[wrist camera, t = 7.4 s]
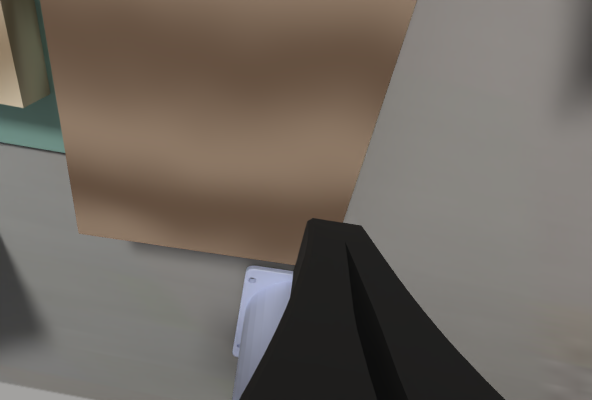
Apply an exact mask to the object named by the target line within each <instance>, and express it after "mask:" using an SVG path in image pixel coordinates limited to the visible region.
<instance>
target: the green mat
mask: <svg viewBox="0 0 592 400" xmlns="http://www.w3.org/2000/svg"><path fill="white" fill-rule="evenodd" d="M34 1H35V7H36V13H37V19H38V24H39V30H40V36H41V42H42V48H43V54H44V60H45V65H46V71H47V77H48V83H49V89H50V95H48V96H46V97H44V98H42V99H40V100H38V101H36V102H34V103H32V104H30V105H28V106H26V107H25V108H21V107H15V106H10V105H4V104H0V142H3V143H9V144H15V145H21V146H27V147H33V148H39V149H45V150H51V151H57V152H63V153H65V148H64V142H63V136H62V130H61V124H60V118H59V112H58V106H57V100H56V94H55V88H54V82H53V76H52V70H51V64H50V58H49V52H48V46H47V40H46V34H45V28H44V22H43V16H42V10H41V4H40V0H34Z"/></svg>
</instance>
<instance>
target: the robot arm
mask: <svg viewBox="0 0 592 400" xmlns="http://www.w3.org/2000/svg"><path fill="white" fill-rule="evenodd" d="M251 278H255V279H251ZM232 353H233V355H234V356H236V357H238V363H237V370H236V376H235V383H234V390H233V397H232V400H505V399H504V398H503V397H502V396H501V395H500V394H499V393H498V392H497V391H496V390H495V389H494V388H493V387H492V386H491V385H490V384H489V383H488V382H487V381H486V380H485V379H484V378H483V377H482V376H481V375H480V374H479V373H478V372H477V371H476V370H475V369H474V367H473V366H472V365H471V364H470V363H469V362H468V361H467V360H466V359H465V358H464V357H463V356H462V355H461V354H460V353H459V352H458V351H457V349H456V348H455V347H454V346H453V345H452V344H451V343H450V342H449V340H448V339H447V338H446V337H445V336H444V335H443V334H442V332H441V331H440V330H439V329H438V328H437V326H436V325H435V324H434V323H433V322H432V320H431V319H430V318H429V317H428V316H427V314H426V313H425V312H424V311H423V310H422V308H421V307H420V306H419V304H418V303H417V302H416V301H415V299H414V298H413V297H412V296H411V294H410V293H409V292H408V290H407V289H406V288H405V286H404V285H403V284H402V282H401V281H400V280H399V278H398V277H397V276H396V274H395V273H394V271H393V270H392V269H391V267H390V266H389V264H388V263H387V262H386V260H385V259H384V257H383V256H382V254H381V253H380V252H379V250H378V249H377V247H376V246H375V244H374V243H373V242H372V240H371V239H370V237H369V236H368V234H367V233H366V231H365V230H364V229H363V227H362V226H360V225H354V224H348V223H341V222H335V221H329V220H323V219H316V218H312V219H310V220H308V221H307V224H306V227H305V231H304V235H303V238H302V242H301V246H300V249H299V253H298V257H297V261H296V264H295V268H294V271H289V270H282V269H275V268H268V267H261V266H249V267H248V268H247V269H246V274H245V280H244V286H243V292H242V298H241V304H240V310H239V316H238V322H237V328H236V334H235V340H234V346H233V352H232Z"/></svg>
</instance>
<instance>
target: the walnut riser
mask: <svg viewBox="0 0 592 400" xmlns="http://www.w3.org/2000/svg"><path fill="white" fill-rule="evenodd" d="M416 2H417V0H40V4H41V10H42V16H43V22H44V28H45V34H46V40H47V46H48V52H49V58H50V64H51V70H52V76H53V82H54V88H55V94H56V100H57V106H58V112H59V118H60V124H61V130H62V136H63V142H64V148H65V154H66V160H67V166H68V172H69V178H70V184H71V190H72V196H73V202H74V208H75V214H76V220H77V226H78V232H79V234H85V235H92V236H99V237H106V238H113V239H119V240H126V241H133V242H140V243H147V244H154V245H160V246H167V247H174V248H181V249H188V250H194V251H201V252H208V253H215V254H222V255H229V256H235V257H242V258H249V259H256V260H263V261H269V262H276V263H283V264H290V265H295V264H296V261H297V257H298V253H299V249H300V246H301V242H302V238H303V235H304V231H305V227H306V224H307V221H308V220H310V219H312V218H316V219H323V220H329V221H335V222H341V223H343V220H344V217H345V214H346V211H347V208H348V205H349V202H350V199H351V196H352V193H353V190H354V187H355V184H356V181H357V178H358V175H359V172H360V169H361V166H362V163H363V160H364V157H365V154H366V151H367V148H368V145H369V142H370V139H371V136H372V133H373V130H374V127H375V124H376V121H377V118H378V115H379V113H380V110H381V107H382V104H383V101H384V98H385V95H386V92H387V89H388V86H389V83H390V80H391V77H392V74H393V71H394V68H395V65H396V62H397V59H398V56H399V53H400V50H401V47H402V44H403V41H404V38H405V35H406V32H407V29H408V26H409V23H410V20H411V17H412V14H413V11H414V8H415V5H416Z"/></svg>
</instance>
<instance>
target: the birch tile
mask: <svg viewBox="0 0 592 400" xmlns="http://www.w3.org/2000/svg"><path fill="white" fill-rule="evenodd" d="M48 95H50V89H49V83H48V77H47V71H46V65H45V60H44V54H43V48H42V42H41V36H40V30H39V24H38V19H37V13H36V7H35V1H34V0H0V104H4V105H10V106H15V107H21V108H25V107H26V106H28V105H30V104H32V103H34V102H36V101H38V100H40V99H42V98H44V97H46V96H48Z"/></svg>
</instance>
